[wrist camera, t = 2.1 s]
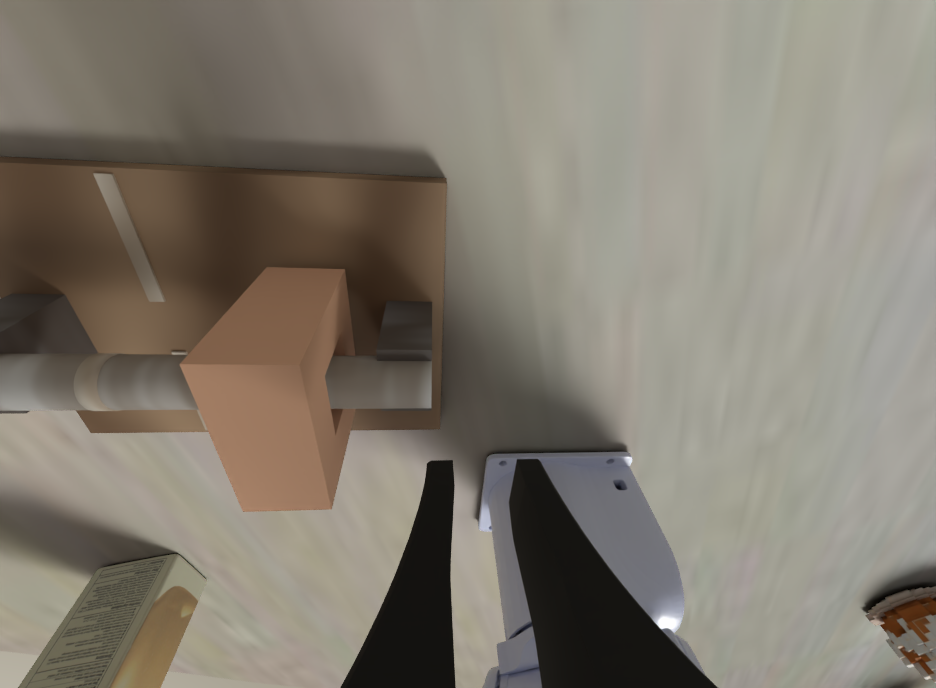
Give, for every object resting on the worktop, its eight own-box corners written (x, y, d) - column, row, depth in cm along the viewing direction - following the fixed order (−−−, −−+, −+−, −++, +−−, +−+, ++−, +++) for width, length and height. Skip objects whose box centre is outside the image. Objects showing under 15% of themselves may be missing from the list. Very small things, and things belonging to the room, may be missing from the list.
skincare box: (135, 592, 31) (-10, 840, 21) (97, 565, 29) (-88, 830, 18) (213, 579, 31) (105, 824, 21) (181, 550, 28) (41, 812, 18)
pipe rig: (446, 177, 16) (451, 221, 11) (439, 416, 23) (441, 506, 18) (-62, 153, 14) (-325, 191, 9) (104, 419, 21) (6, 519, 16)
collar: (345, 268, 16) (299, 364, 10) (359, 391, 19) (331, 509, 14) (266, 267, 15) (179, 364, 10) (296, 391, 19) (243, 511, 14)
